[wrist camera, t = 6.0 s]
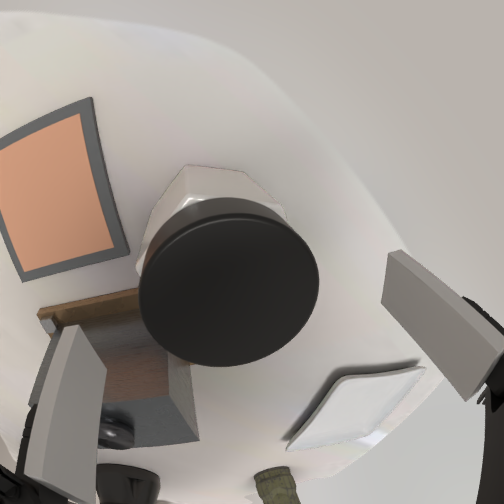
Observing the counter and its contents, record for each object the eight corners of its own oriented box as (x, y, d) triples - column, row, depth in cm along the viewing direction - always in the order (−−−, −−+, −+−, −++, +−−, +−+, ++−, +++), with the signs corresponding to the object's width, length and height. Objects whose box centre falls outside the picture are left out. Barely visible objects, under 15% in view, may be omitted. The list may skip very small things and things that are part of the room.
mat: (24, 279, 20) (21, 283, 20) (-18, 150, 14) (-22, 152, 14) (129, 251, 22) (128, 255, 22) (92, 97, 16) (89, 96, 15)
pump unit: (82, 374, 27) (67, 462, 16) (39, 308, 22) (-3, 401, 12) (210, 354, 29) (230, 453, 18) (185, 277, 24) (195, 388, 14)
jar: (213, 281, 25) (240, 389, 15) (135, 231, 22) (103, 331, 11) (280, 202, 23) (358, 274, 13) (202, 140, 20) (225, 160, 9)
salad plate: (332, 364, 36) (343, 381, 33) (420, 356, 43) (430, 368, 40) (277, 439, 43) (283, 454, 40) (363, 424, 50) (369, 435, 47)
